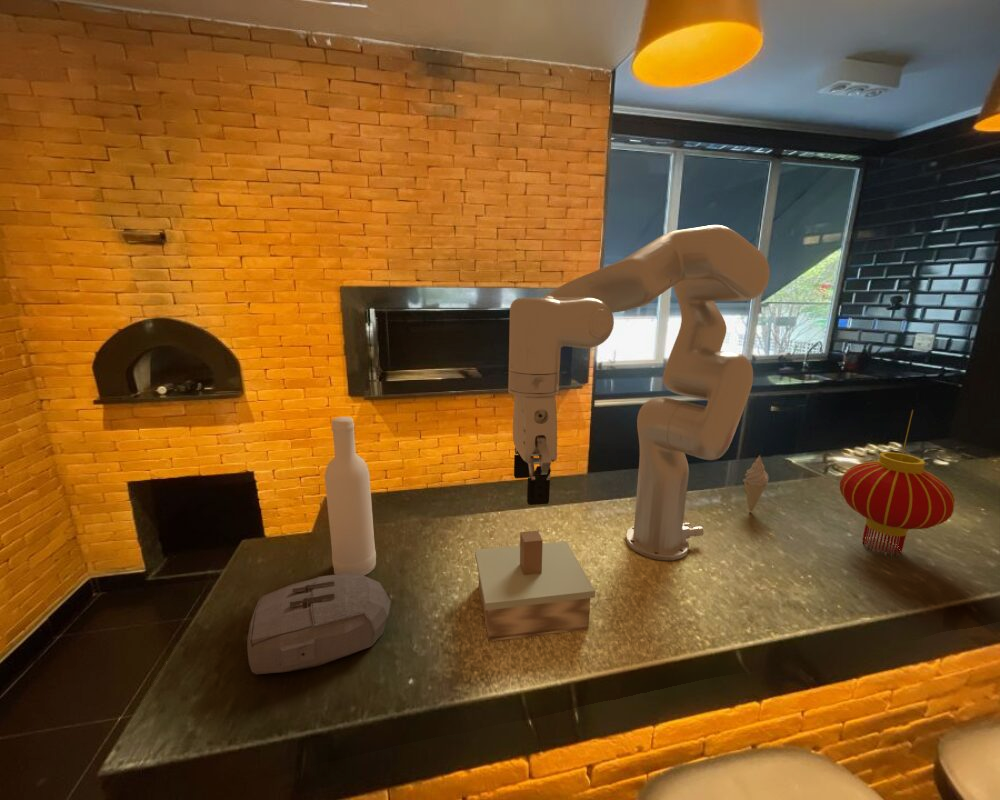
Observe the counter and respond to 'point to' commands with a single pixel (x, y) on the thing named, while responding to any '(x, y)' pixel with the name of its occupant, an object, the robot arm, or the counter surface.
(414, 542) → the counter surface
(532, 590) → the lid
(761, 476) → the ice cream cone
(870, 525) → the lantern
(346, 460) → the bottle
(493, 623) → the storage box
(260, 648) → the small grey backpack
